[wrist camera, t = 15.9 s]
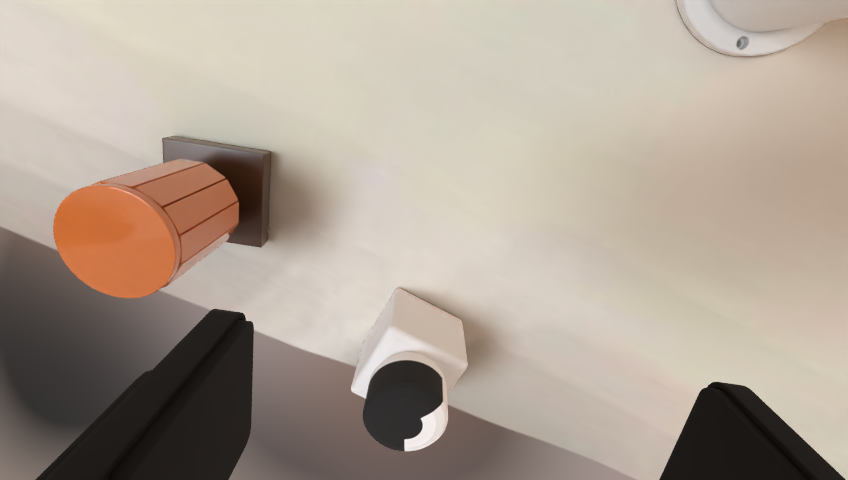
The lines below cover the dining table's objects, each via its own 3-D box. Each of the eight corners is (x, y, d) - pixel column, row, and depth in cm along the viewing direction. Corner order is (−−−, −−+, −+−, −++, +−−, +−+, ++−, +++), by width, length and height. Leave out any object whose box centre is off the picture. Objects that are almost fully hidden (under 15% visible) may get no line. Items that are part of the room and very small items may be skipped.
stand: (173, 135, 35) (41, 160, 23) (271, 151, 35) (190, 184, 23) (177, 227, 38) (60, 292, 26) (267, 241, 38) (194, 311, 26)
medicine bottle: (361, 343, 41) (335, 439, 30) (397, 285, 39) (383, 365, 28) (426, 374, 43) (424, 478, 31) (463, 319, 40) (476, 410, 29)
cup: (144, 152, 31) (44, 175, 23) (239, 167, 31) (173, 195, 23) (150, 240, 33) (60, 289, 25) (238, 253, 33) (177, 306, 25)
